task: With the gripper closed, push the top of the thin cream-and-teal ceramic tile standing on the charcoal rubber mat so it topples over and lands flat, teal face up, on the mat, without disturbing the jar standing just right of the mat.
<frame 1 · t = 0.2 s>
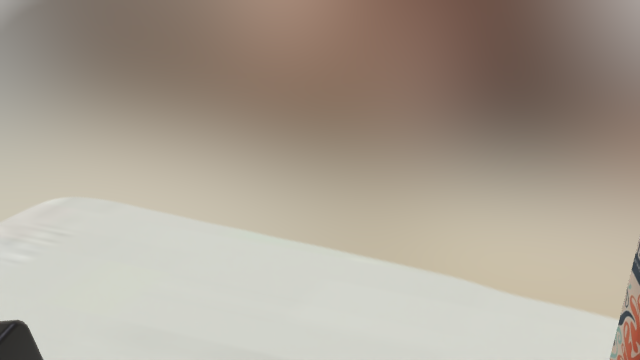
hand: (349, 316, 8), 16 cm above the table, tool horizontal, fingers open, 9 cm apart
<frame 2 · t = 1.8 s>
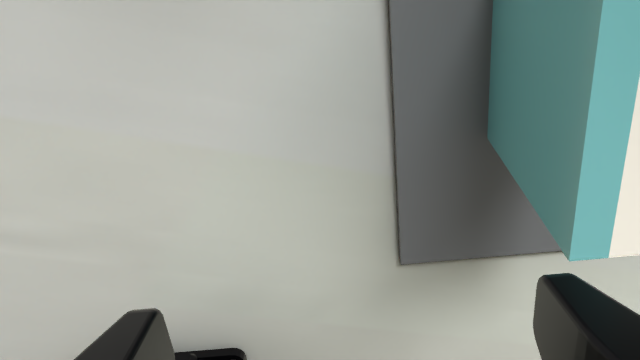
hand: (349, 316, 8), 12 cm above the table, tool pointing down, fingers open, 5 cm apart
tile: (519, 48, 18), resting on mat
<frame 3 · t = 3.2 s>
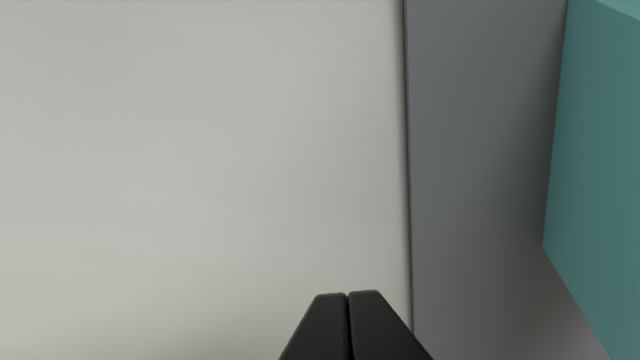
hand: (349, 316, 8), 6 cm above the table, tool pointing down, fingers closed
tile: (596, 129, 12), resting on mat
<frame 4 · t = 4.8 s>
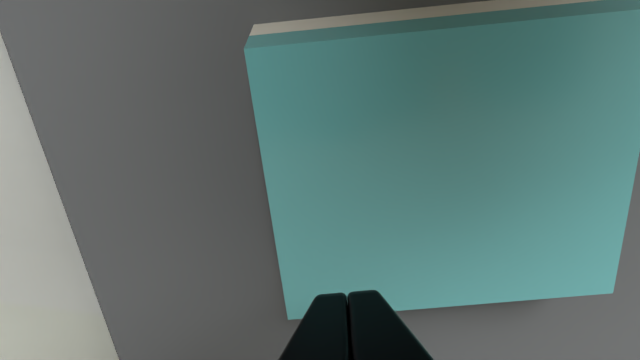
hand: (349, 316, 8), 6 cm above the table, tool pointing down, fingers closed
mat: (406, 98, 12), on the table
tile: (271, 179, 12), point 1 cm above the table, tilted 90°, touching mat
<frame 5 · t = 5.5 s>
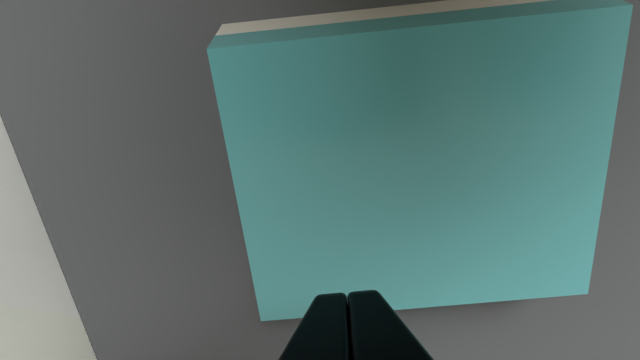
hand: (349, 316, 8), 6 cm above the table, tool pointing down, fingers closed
mat: (380, 98, 12), on the table
tile: (242, 180, 12), point 1 cm above the table, tilted 90°, touching mat
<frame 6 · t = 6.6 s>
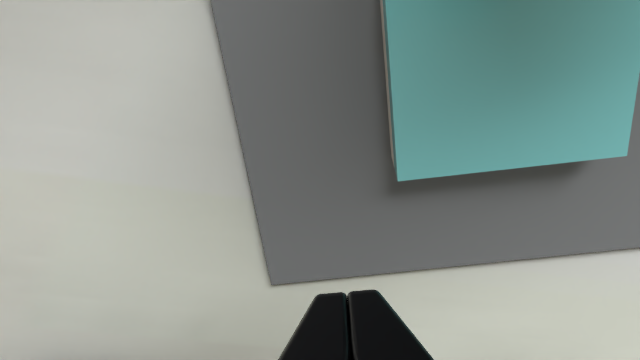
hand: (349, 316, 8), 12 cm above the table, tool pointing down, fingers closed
mat: (478, 24, 18), on the table
tile: (388, 80, 17), point 1 cm above the table, tilted 90°, touching mat
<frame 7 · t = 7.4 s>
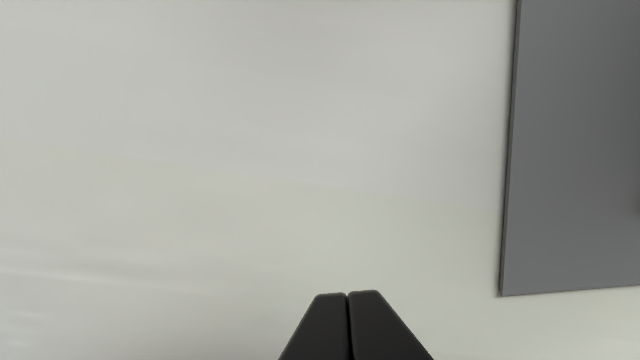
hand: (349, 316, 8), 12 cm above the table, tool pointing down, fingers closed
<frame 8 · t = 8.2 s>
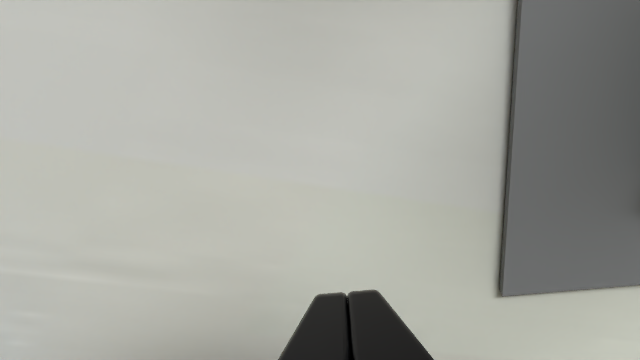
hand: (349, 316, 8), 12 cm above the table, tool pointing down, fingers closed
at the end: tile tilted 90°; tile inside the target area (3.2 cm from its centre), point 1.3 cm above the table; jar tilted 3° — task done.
